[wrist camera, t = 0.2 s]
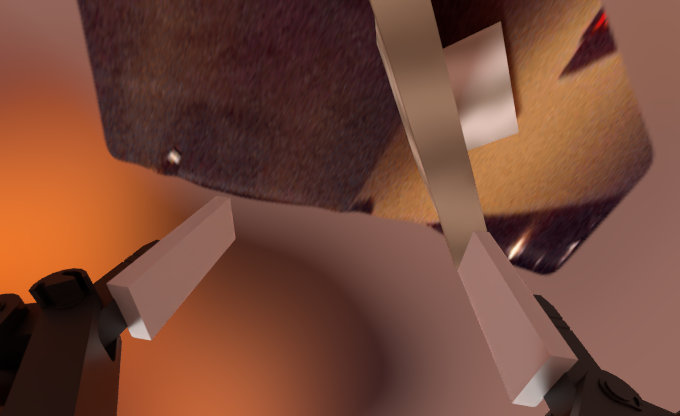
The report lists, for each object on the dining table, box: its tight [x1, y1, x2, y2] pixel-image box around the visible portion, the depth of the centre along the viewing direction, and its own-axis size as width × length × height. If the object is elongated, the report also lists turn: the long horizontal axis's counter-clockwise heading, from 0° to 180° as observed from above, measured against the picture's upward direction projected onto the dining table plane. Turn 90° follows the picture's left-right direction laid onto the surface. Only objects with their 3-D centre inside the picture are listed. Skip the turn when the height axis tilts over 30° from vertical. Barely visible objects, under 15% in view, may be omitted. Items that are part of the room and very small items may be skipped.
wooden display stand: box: [370, 0, 519, 270], centre depth 24 cm, size 19×13×23 cm
